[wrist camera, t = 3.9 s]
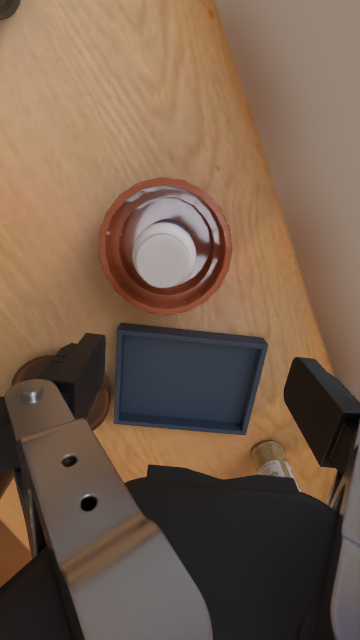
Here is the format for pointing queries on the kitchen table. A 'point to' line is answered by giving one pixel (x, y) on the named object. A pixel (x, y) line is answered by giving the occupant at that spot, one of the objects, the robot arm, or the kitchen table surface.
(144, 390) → the tray
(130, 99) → the kitchen table surface
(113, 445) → the kitchen table surface
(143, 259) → the pill bottle
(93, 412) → the cup and saucer
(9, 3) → the beverage cup
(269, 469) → the sprinkles bottle
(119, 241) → the bowl
